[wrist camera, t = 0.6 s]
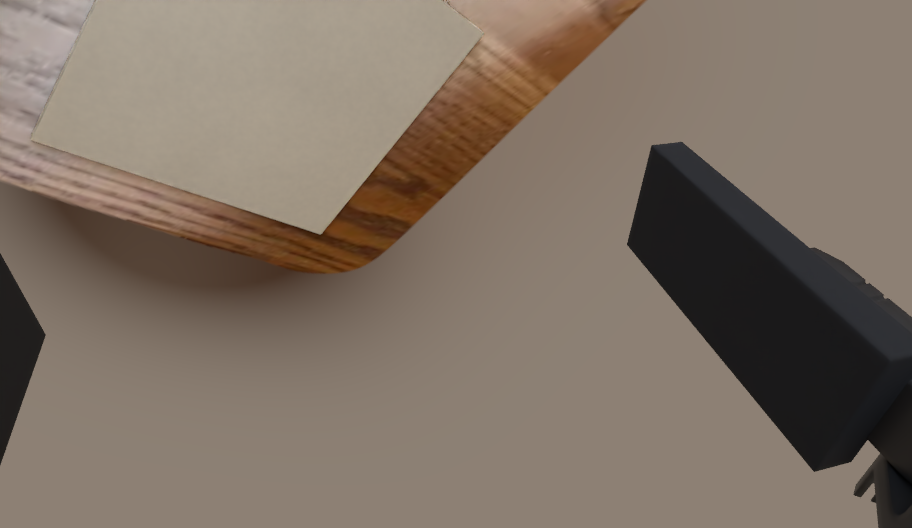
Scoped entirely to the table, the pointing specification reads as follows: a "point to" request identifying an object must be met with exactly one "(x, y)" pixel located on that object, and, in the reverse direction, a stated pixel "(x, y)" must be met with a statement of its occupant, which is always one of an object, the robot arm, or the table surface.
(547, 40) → the table surface
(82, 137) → the corner mat
